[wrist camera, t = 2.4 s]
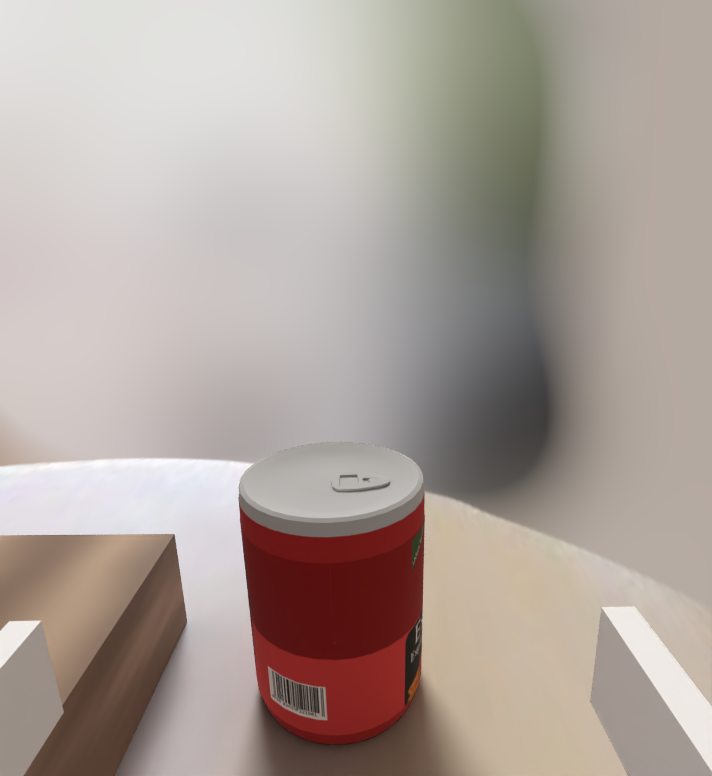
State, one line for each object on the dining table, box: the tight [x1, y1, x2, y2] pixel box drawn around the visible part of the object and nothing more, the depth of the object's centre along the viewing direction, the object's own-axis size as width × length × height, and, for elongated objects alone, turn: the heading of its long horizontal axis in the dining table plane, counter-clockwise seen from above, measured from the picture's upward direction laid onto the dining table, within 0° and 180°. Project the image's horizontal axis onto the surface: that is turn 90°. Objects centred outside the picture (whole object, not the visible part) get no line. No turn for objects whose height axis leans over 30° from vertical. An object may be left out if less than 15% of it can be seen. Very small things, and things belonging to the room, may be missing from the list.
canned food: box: [239, 442, 425, 745], centre depth 23 cm, size 8×8×11 cm
